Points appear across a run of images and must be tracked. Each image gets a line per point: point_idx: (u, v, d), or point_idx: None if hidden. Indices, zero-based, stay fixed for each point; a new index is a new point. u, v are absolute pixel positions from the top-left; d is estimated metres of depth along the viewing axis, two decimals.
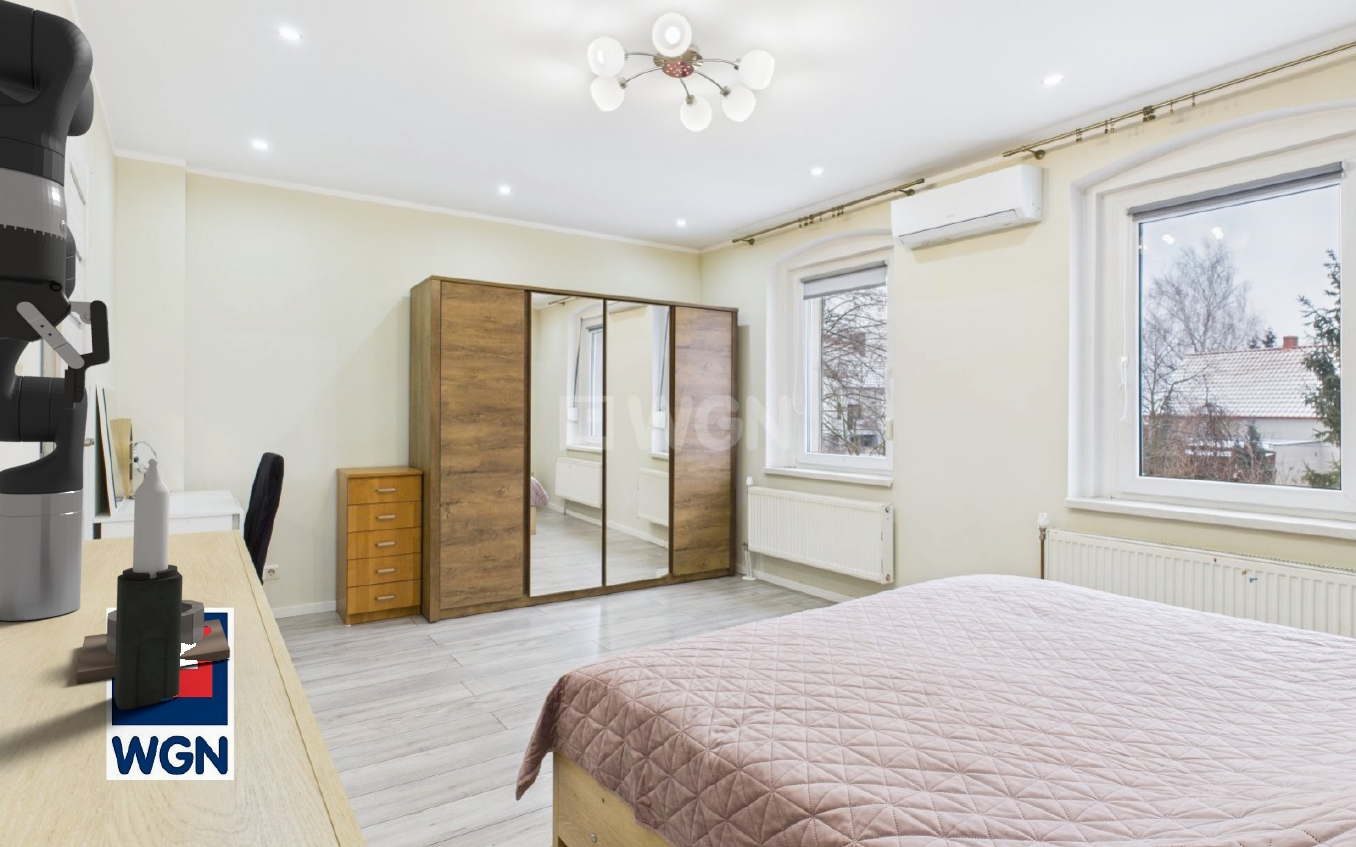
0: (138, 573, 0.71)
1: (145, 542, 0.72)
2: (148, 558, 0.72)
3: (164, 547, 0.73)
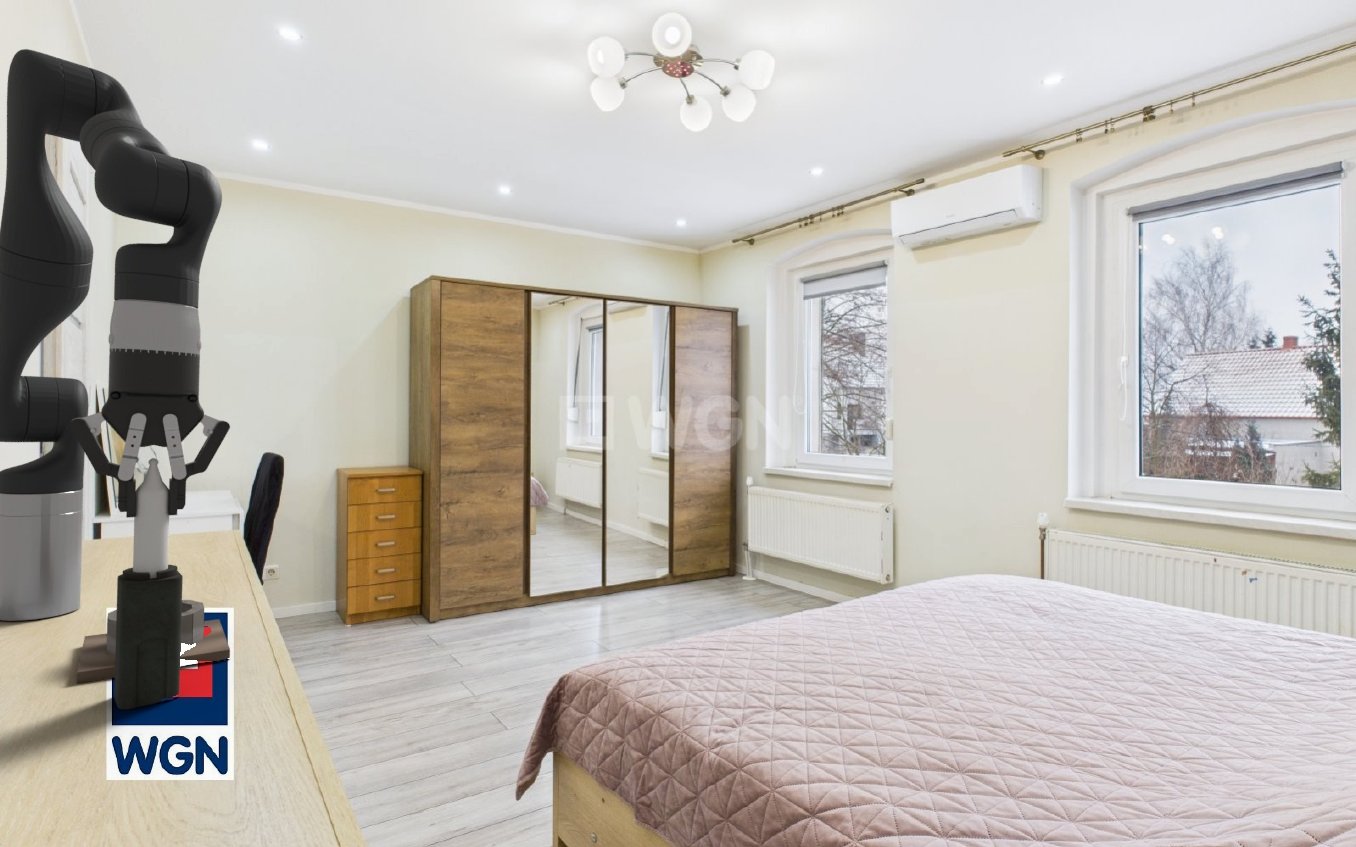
0: (138, 573, 0.71)
1: (145, 542, 0.72)
2: (148, 558, 0.72)
3: (164, 547, 0.73)
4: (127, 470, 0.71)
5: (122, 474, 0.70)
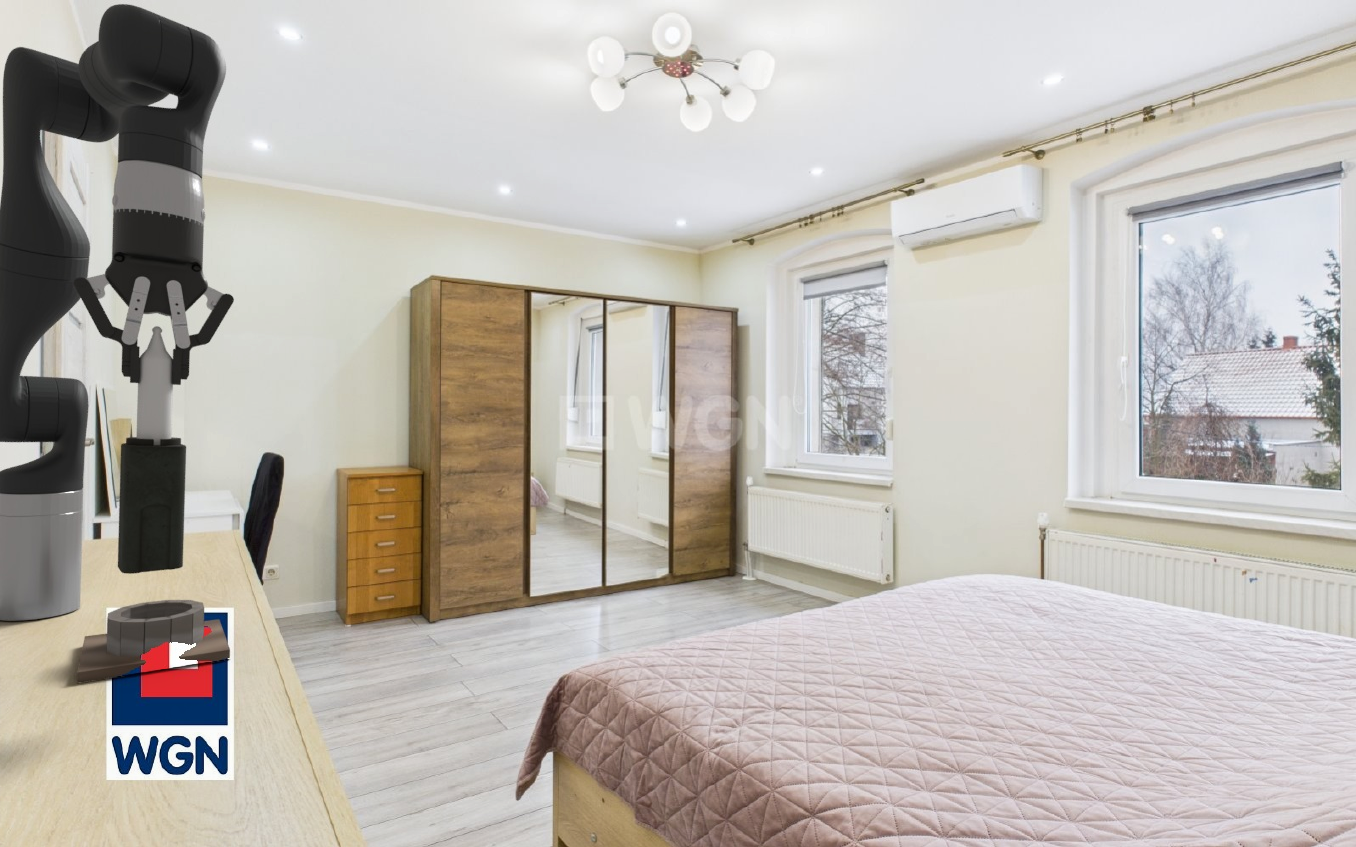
0: (142, 439, 0.71)
1: (148, 408, 0.71)
2: (151, 425, 0.71)
3: (168, 416, 0.73)
4: (131, 334, 0.70)
5: (126, 338, 0.70)
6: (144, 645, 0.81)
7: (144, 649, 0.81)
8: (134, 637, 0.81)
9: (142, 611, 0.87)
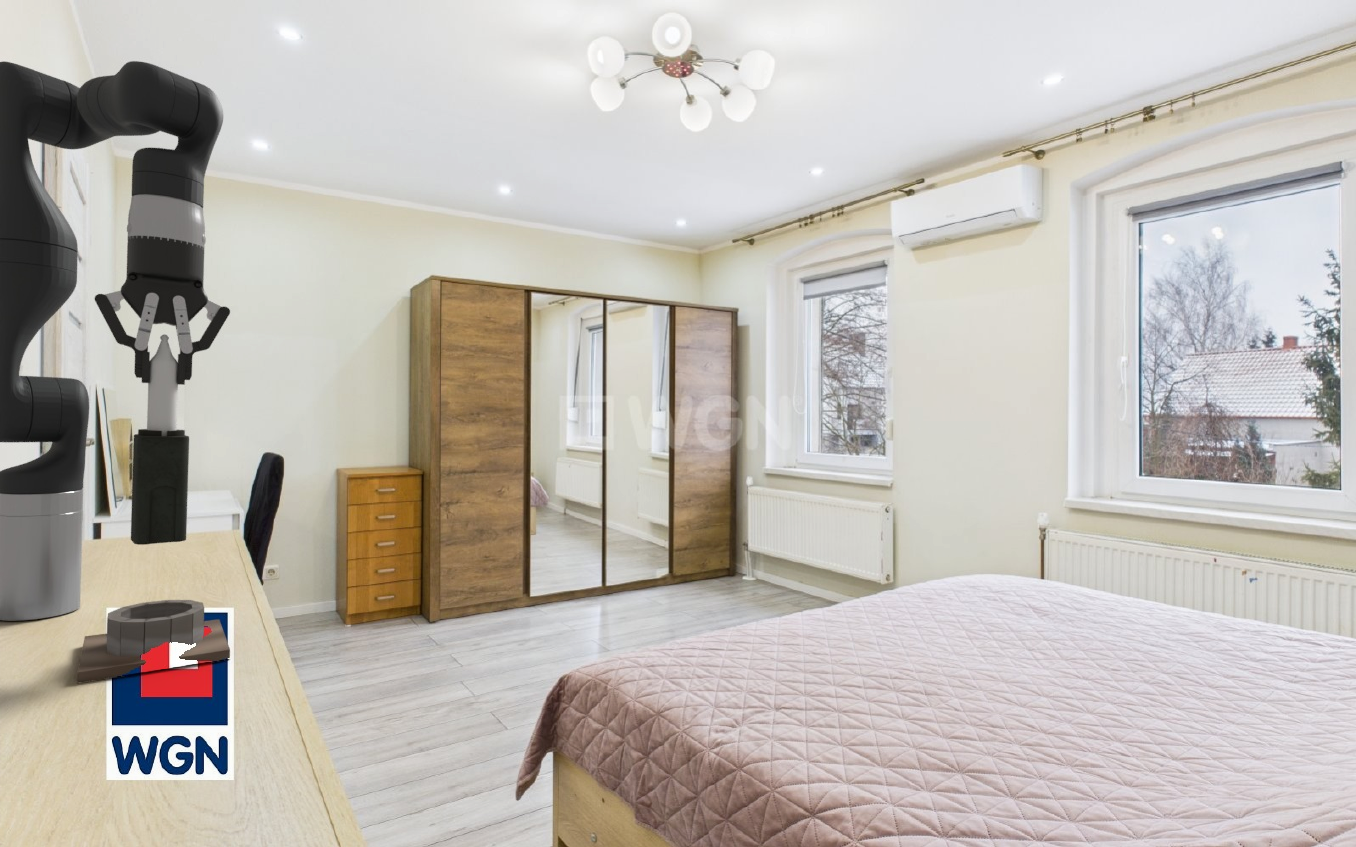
0: (151, 430, 0.83)
1: (157, 404, 0.84)
2: (159, 418, 0.84)
3: (173, 411, 0.85)
4: (142, 341, 0.83)
5: (138, 344, 0.83)
6: (144, 645, 0.81)
7: (144, 649, 0.81)
8: (134, 637, 0.81)
9: (142, 611, 0.87)
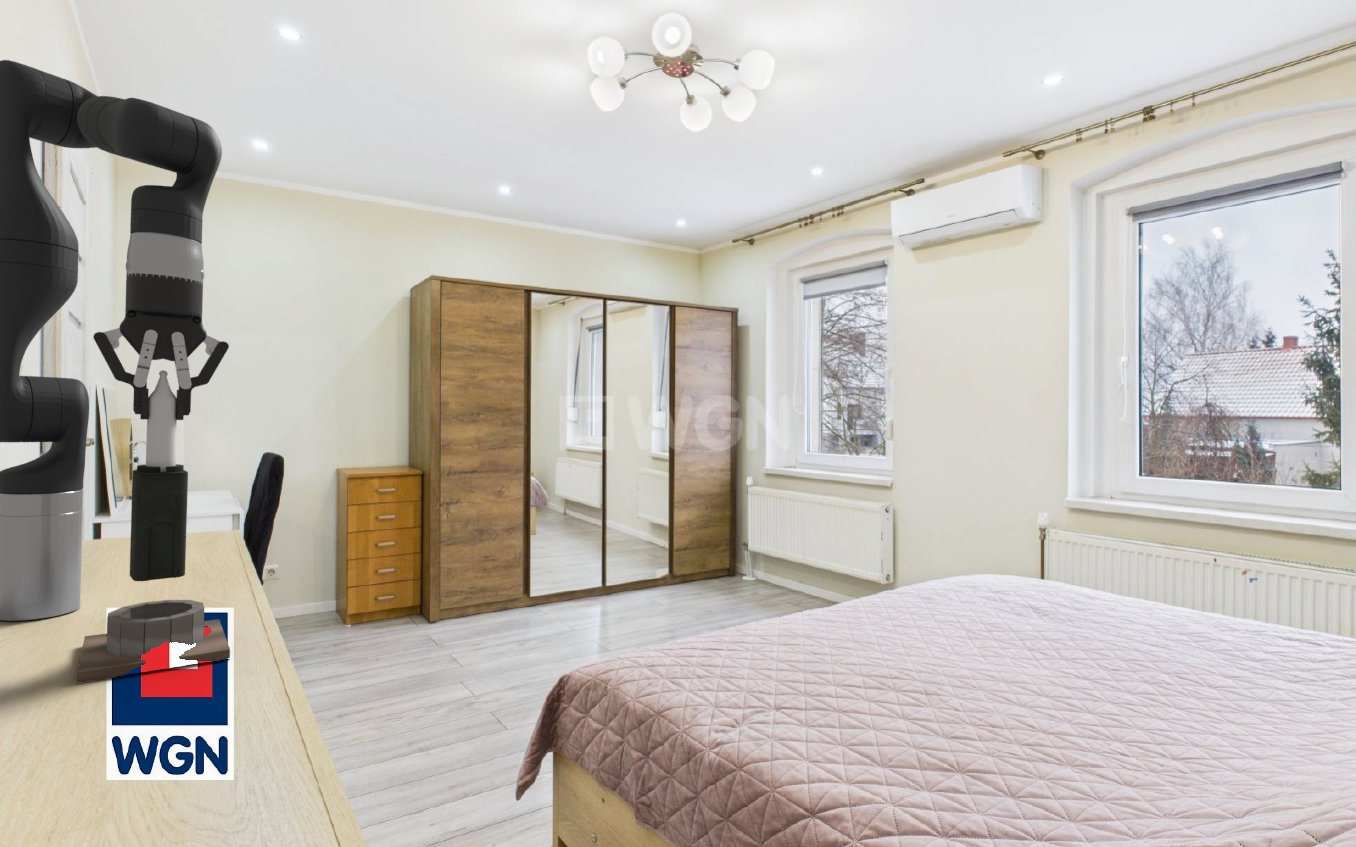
0: (150, 466, 0.84)
1: (156, 440, 0.84)
2: (158, 455, 0.84)
3: (172, 446, 0.85)
4: (141, 378, 0.83)
5: (137, 381, 0.83)
6: (144, 645, 0.81)
7: (144, 649, 0.81)
8: (134, 637, 0.81)
9: (142, 611, 0.87)
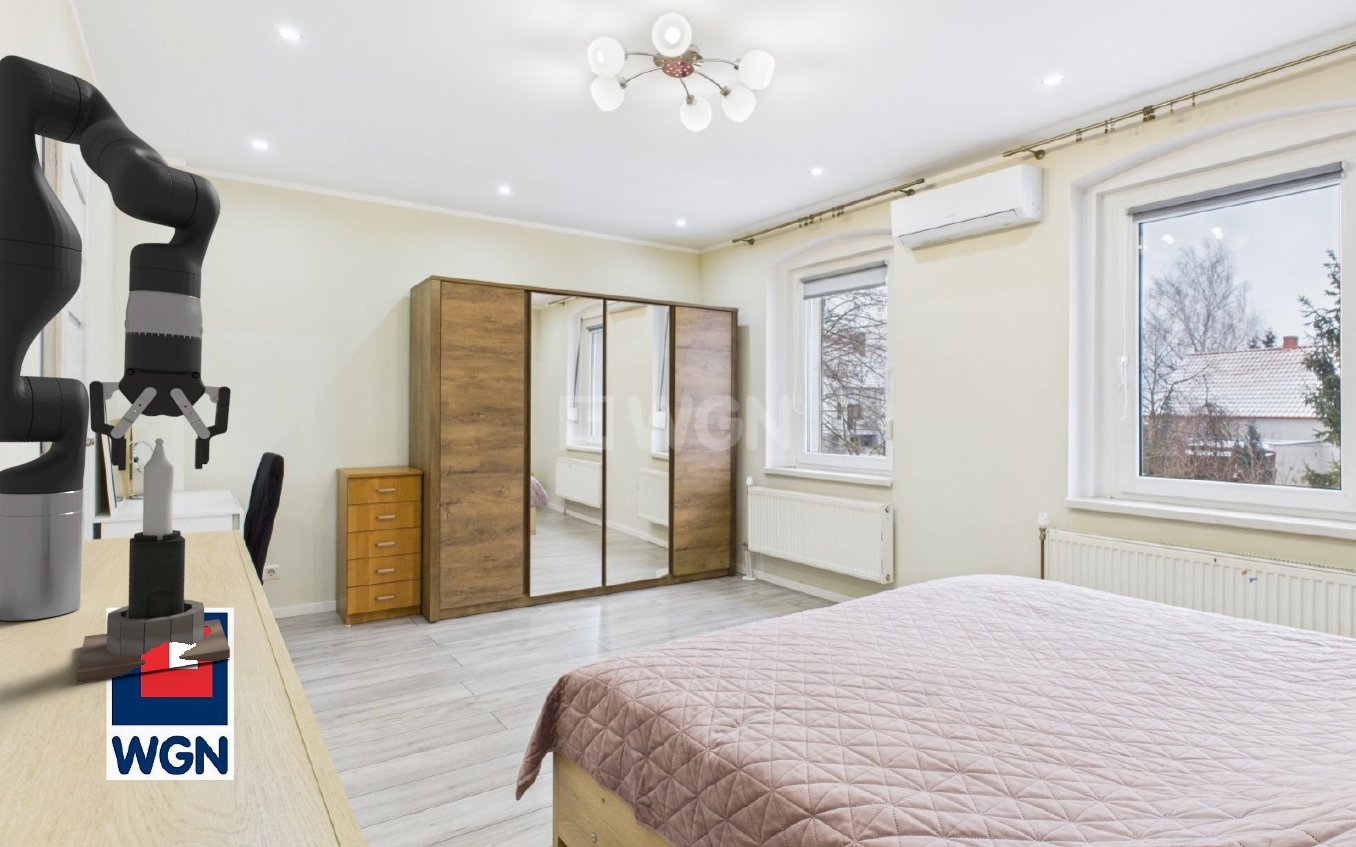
0: (147, 535, 0.84)
1: (153, 509, 0.84)
2: (155, 523, 0.84)
3: (169, 514, 0.85)
4: (119, 429, 0.82)
5: (114, 433, 0.82)
6: (144, 645, 0.81)
7: (144, 649, 0.81)
8: (134, 637, 0.81)
9: None
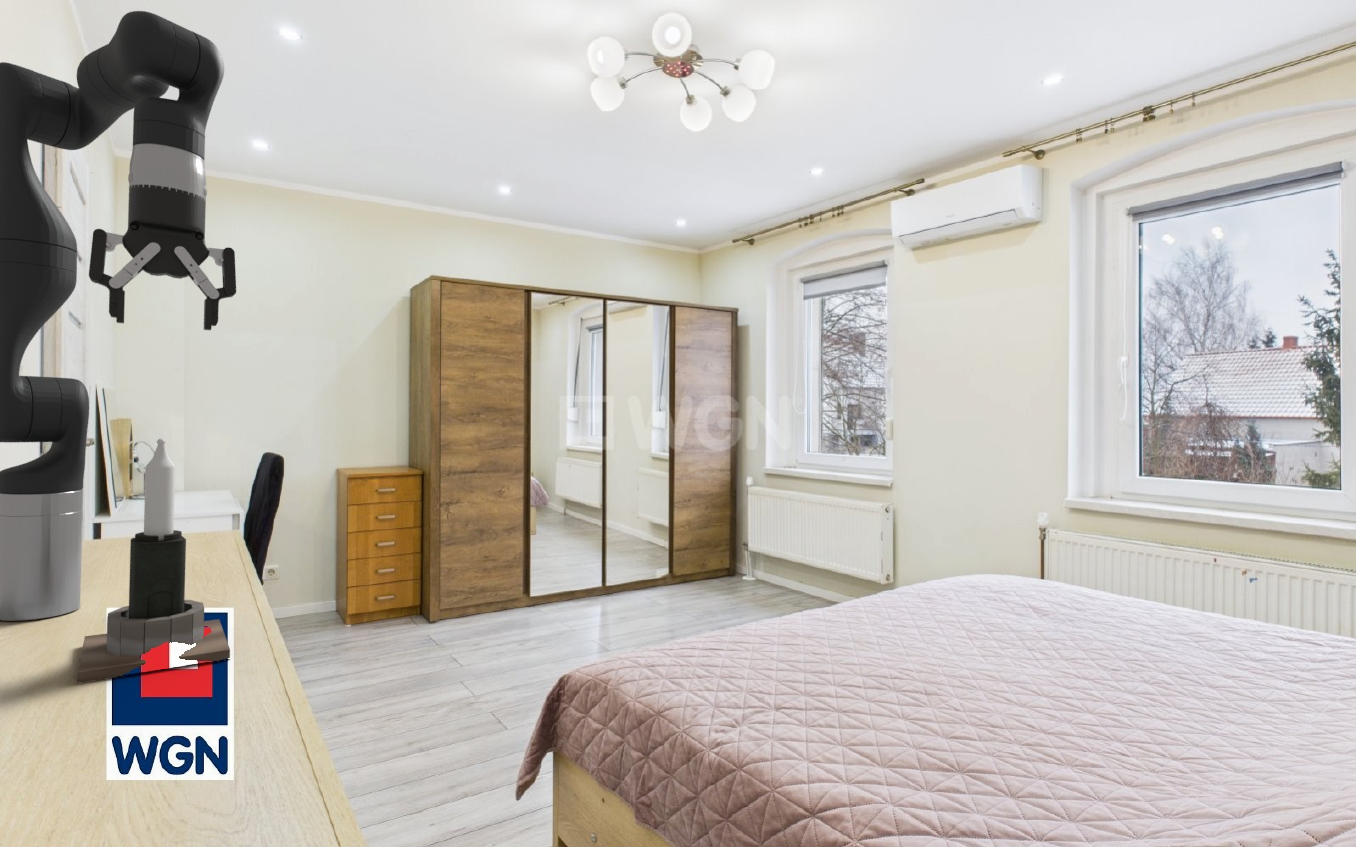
0: (148, 536, 0.84)
1: (154, 509, 0.84)
2: (156, 523, 0.84)
3: (170, 514, 0.85)
4: (117, 279, 0.81)
5: (112, 282, 0.81)
6: (144, 645, 0.81)
7: (144, 649, 0.81)
8: (134, 637, 0.81)
9: None
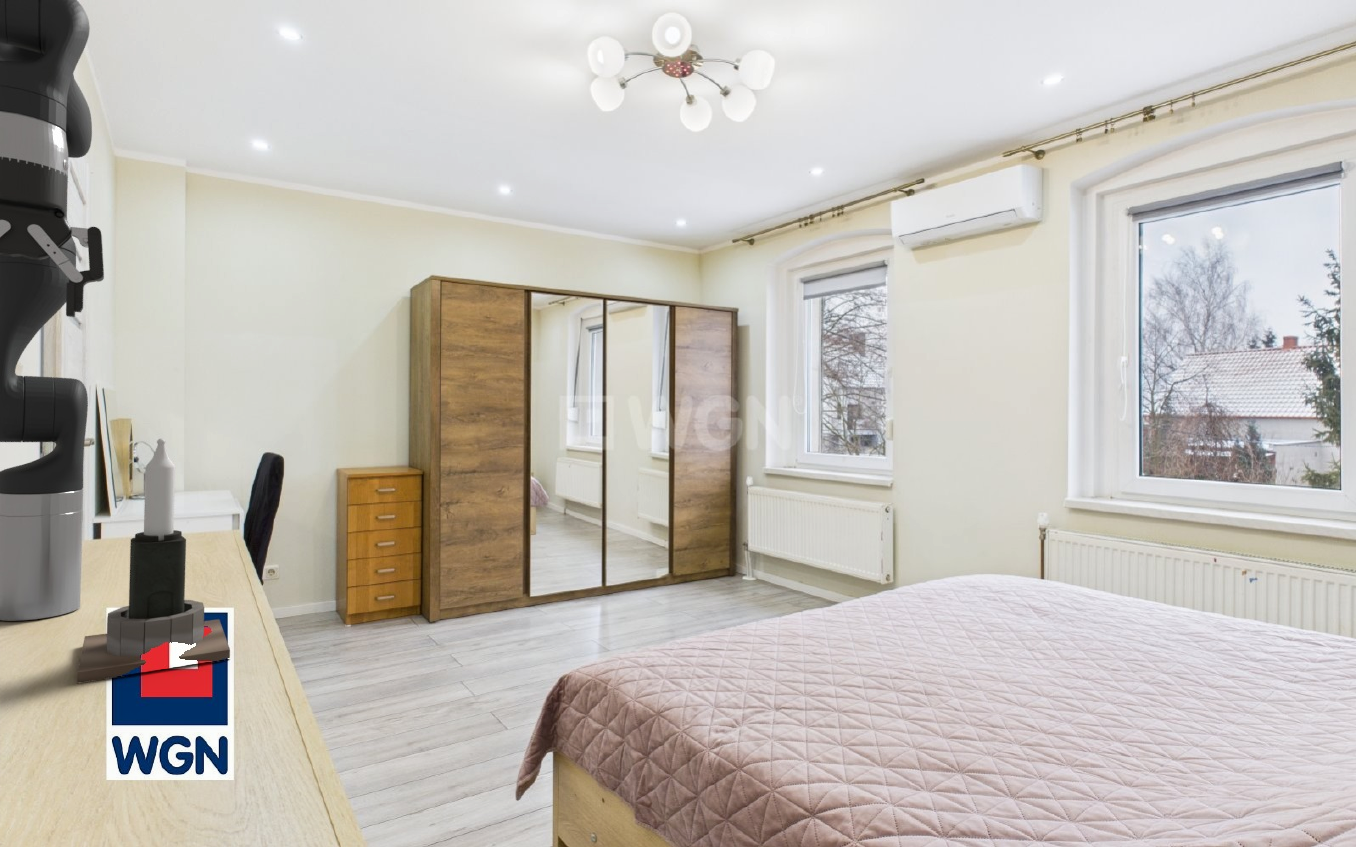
0: (148, 536, 0.84)
1: (154, 509, 0.84)
2: (156, 523, 0.84)
3: (170, 514, 0.85)
4: None
5: None
6: (144, 645, 0.81)
7: (144, 649, 0.81)
8: (134, 637, 0.81)
9: None
